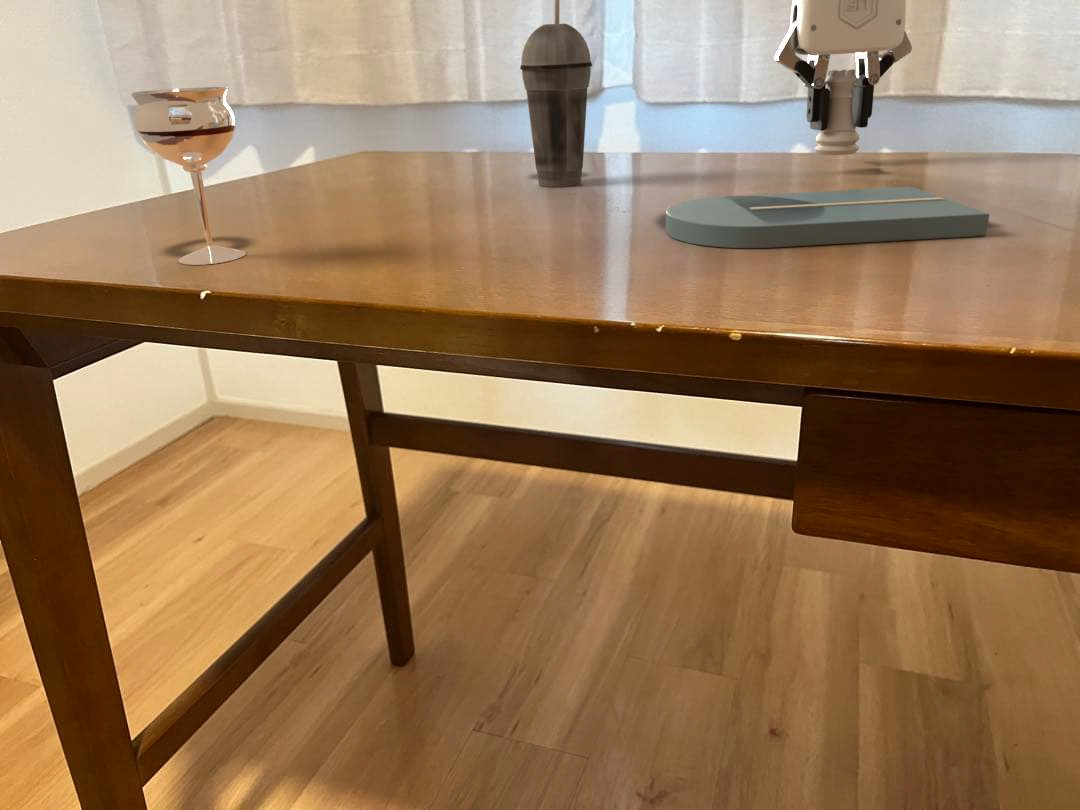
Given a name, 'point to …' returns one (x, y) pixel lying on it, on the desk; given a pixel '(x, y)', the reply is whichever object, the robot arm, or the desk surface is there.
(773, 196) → the board
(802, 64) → the robot arm
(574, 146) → the beverage cup
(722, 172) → the desk surface
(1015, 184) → the desk surface
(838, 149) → the rook chess piece
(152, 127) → the wineglass
